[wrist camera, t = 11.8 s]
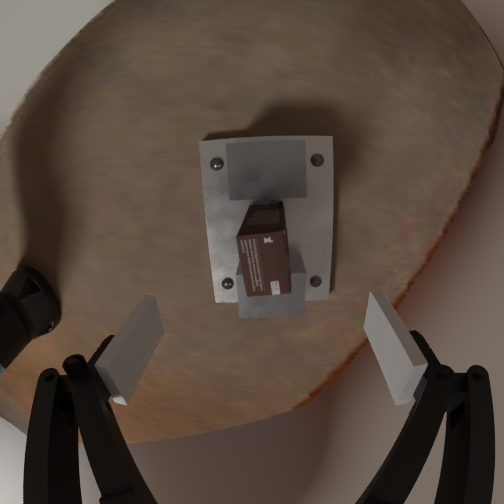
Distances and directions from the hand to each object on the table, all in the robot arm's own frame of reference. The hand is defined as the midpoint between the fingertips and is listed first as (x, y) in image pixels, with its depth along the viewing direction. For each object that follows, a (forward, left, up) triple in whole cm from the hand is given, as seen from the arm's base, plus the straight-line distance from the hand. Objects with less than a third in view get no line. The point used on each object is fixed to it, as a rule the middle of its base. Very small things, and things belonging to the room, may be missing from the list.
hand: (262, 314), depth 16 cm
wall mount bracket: (0, 0, -21) cm, 21 cm away
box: (0, 0, -20) cm, 20 cm away
